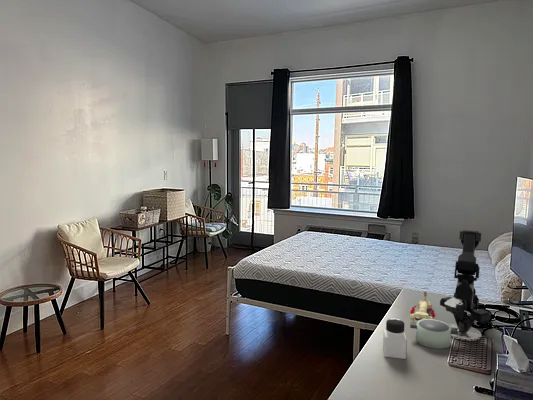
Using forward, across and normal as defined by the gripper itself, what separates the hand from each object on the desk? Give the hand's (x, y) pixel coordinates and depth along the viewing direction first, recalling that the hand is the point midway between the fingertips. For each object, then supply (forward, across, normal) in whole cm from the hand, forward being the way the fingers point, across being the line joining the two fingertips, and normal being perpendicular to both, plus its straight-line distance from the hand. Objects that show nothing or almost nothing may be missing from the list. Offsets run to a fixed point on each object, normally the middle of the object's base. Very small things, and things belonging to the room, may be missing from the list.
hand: (462, 329), depth 155 cm
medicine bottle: (+2, +1, -35) cm, 35 cm away
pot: (+2, 0, -16) cm, 16 cm away
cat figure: (+2, -19, -2) cm, 19 cm away
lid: (+2, 0, 0) cm, 2 cm away
